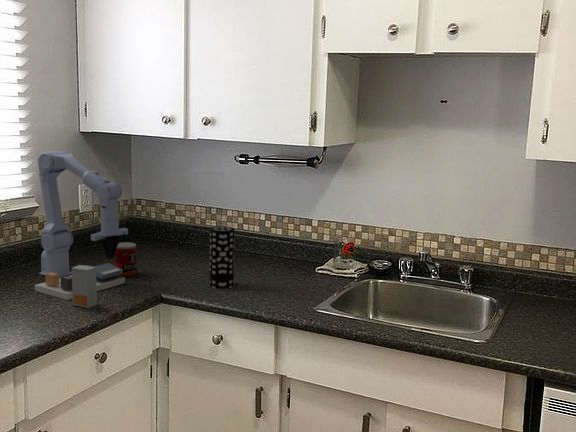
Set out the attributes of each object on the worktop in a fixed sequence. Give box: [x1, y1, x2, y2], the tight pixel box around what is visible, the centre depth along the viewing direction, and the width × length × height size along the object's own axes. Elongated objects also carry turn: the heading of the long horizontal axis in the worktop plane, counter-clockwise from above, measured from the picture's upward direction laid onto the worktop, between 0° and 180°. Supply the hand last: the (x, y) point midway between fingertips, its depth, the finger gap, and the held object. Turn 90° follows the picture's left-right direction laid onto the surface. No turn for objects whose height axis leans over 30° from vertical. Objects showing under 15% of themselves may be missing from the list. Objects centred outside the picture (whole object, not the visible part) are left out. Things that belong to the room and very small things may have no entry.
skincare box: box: [71, 264, 98, 309], centre depth 188 cm, size 6×4×12 cm
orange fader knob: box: [44, 272, 59, 286], centre depth 201 cm, size 4×2×4 cm
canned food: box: [114, 241, 138, 278], centre depth 223 cm, size 8×8×11 cm
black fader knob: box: [60, 275, 72, 290], centre depth 197 cm, size 4×2×4 cm
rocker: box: [94, 262, 123, 279], centre depth 211 cm, size 7×9×2 cm
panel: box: [34, 274, 126, 301], centre depth 207 cm, size 16×24×4 cm, turn 148°
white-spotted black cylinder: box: [209, 225, 235, 290], centre depth 212 cm, size 8×8×20 cm
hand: (110, 258), depth 209 cm, fingers closed
